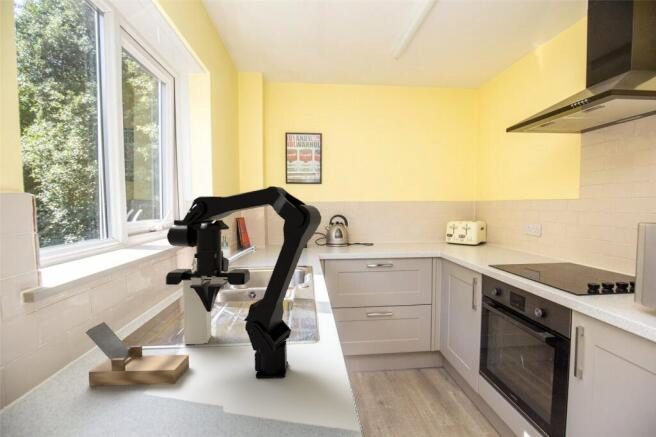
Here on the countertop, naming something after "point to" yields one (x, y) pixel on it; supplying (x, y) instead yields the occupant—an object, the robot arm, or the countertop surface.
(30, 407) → the countertop surface
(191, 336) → the milk
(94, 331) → the lever cap
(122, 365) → the body
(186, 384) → the countertop surface
